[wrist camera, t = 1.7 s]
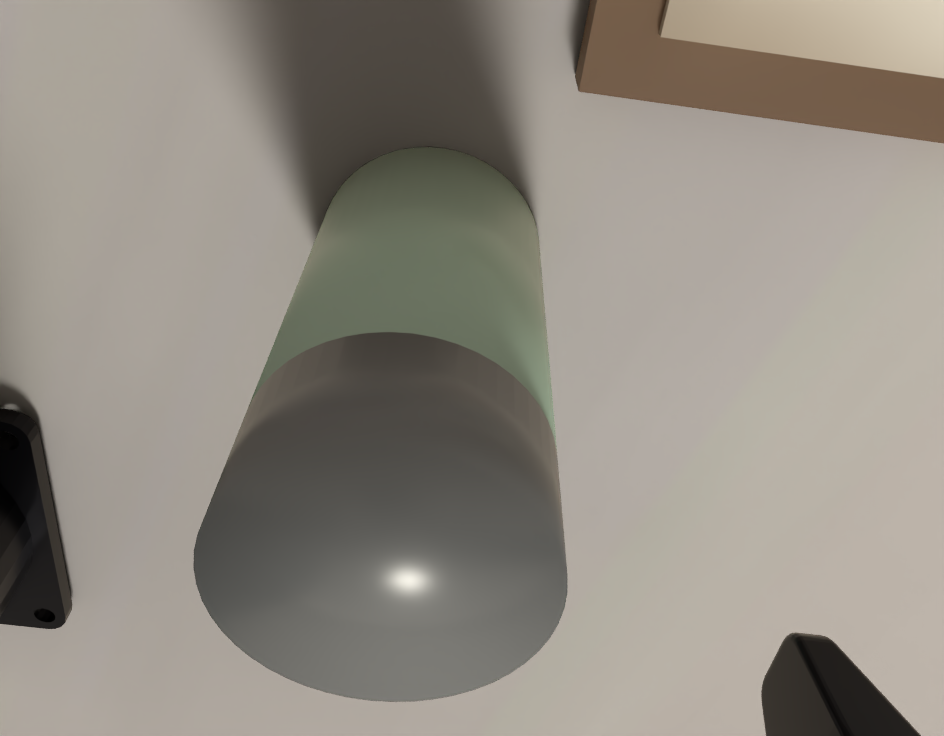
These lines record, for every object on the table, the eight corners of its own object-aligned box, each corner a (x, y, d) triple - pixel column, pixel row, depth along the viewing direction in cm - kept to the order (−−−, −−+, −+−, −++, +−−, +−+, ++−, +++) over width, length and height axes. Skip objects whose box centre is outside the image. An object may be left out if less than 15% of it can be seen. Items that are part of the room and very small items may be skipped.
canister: (519, 355, 17) (532, 717, 11) (318, 330, 17) (202, 682, 10) (557, 163, 15) (603, 469, 8) (325, 131, 15) (184, 419, 8)
